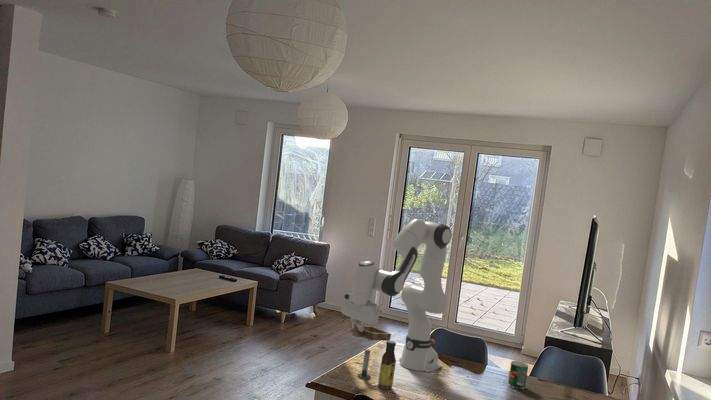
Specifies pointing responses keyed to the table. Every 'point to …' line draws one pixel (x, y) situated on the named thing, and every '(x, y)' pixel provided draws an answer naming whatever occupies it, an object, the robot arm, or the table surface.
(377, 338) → the wooden frame with handle
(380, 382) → the sauce bottle
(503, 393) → the table surface
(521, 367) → the canned tomato
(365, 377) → the grey plunger shape
